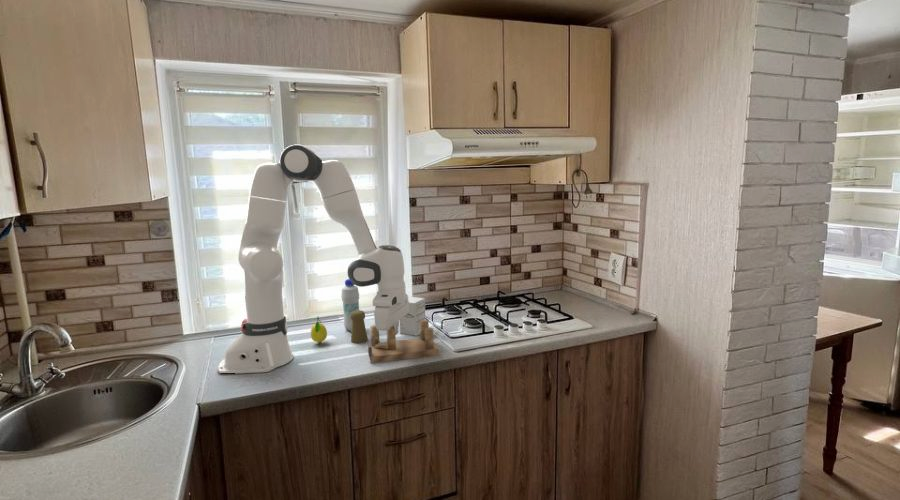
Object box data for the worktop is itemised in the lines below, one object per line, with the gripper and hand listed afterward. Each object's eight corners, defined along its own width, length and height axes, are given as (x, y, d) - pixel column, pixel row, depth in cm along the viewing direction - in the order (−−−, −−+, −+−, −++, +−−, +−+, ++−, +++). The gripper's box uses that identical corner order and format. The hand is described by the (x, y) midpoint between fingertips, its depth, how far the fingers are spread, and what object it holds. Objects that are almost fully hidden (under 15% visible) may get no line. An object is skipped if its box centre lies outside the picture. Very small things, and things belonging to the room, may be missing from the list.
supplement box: (399, 333, 176) (397, 300, 174) (410, 327, 182) (408, 295, 180) (416, 336, 172) (414, 302, 170) (426, 330, 179) (425, 297, 177)
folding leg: (372, 348, 156) (371, 329, 155) (376, 345, 158) (374, 326, 157) (394, 349, 154) (393, 330, 153) (397, 346, 157) (396, 327, 156)
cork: (364, 343, 167) (362, 313, 165) (348, 343, 168) (346, 313, 166) (370, 338, 172) (368, 308, 171) (354, 337, 174) (352, 308, 172)
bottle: (363, 326, 185) (360, 277, 182) (358, 332, 179) (355, 281, 175) (347, 326, 186) (343, 277, 182) (341, 332, 179) (337, 281, 176)
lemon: (320, 338, 173) (318, 312, 172) (332, 341, 170) (330, 314, 169) (306, 344, 168) (304, 317, 166) (318, 347, 165) (316, 319, 163)
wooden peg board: (369, 363, 149) (367, 337, 148) (367, 349, 161) (365, 325, 160) (438, 354, 154) (437, 329, 153) (431, 342, 166) (430, 319, 164)
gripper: (396, 286, 166) (398, 324, 169) (369, 302, 147) (372, 344, 149) (412, 287, 164) (414, 325, 167) (388, 303, 145) (391, 346, 147)
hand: (394, 334), depth 158 cm, fingers closed
